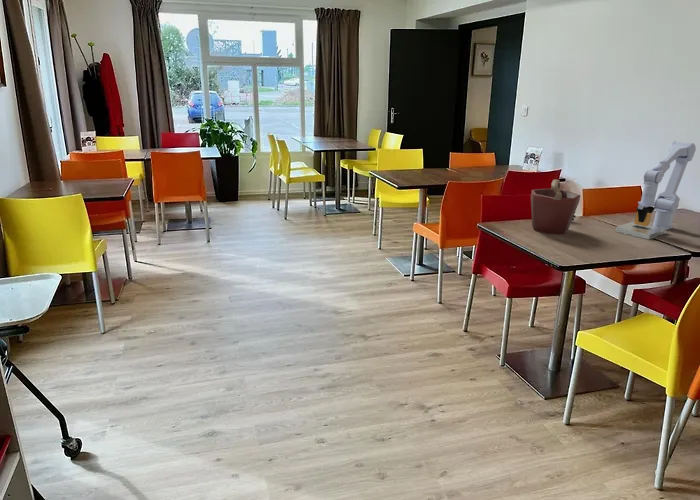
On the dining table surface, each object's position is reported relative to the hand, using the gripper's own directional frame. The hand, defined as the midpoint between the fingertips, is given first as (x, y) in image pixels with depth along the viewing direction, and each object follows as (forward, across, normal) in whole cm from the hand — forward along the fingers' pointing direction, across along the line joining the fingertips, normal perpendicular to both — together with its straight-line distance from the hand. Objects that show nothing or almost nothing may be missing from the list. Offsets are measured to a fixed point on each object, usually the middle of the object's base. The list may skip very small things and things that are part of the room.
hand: (643, 221), depth 253 cm
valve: (+6, +16, -33) cm, 38 cm away
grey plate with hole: (+6, 0, 0) cm, 6 cm away
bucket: (+6, +37, -29) cm, 47 cm away
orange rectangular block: (+2, 0, 0) cm, 2 cm away
